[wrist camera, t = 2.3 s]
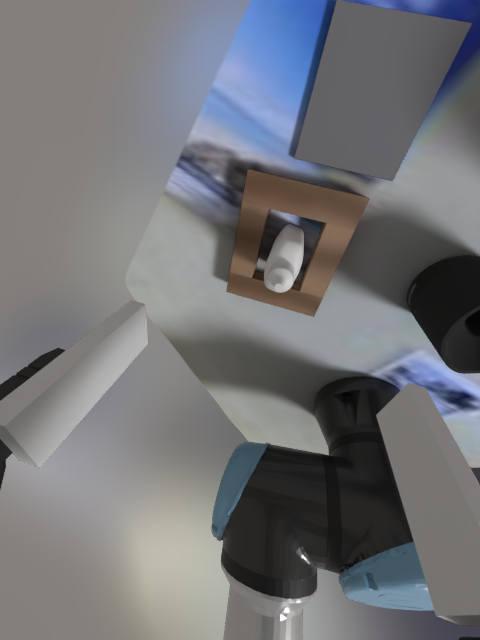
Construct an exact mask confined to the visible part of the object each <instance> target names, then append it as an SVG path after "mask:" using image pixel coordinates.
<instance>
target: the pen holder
mask: <svg viewBox="0 0 480 640" xmlns="http://www.w3.org/2000/svg"><path fill="white" fill-rule="evenodd" d="M407 303H408V307H409V309H410V311H411V312H412V314H413V316H414V317H415V319H416V321H417V322H418V324H419V325H420V327H421V328H422V330H423V331H424V333H425V334H426V336H427V337H428V339H429V340H430V342H431V343H432V345H433V346H434V348H435V349H436V351H437V352H438V354H439V355H440V357H441V358H442V360H443V361H444V363H445V364H446V365H447V366H448V367H449V368H450V369H452V370H453V371H455V372H458V373H464V374H465V373H480V257H476V256H457V257H452V258H448V259H445V260H442V261H440V262H437V263H435V264H433V265H432V266H430V267H428V268H427V269H425V270H424V271H423V272H422V273H420V274H419V275H418V276H417V277H416V279H415V280H414V281H413V283H412V284H411V286H410V288H409V290H408V294H407Z"/></svg>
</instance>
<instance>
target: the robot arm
mask: <svg viewBox="0 0 480 640" xmlns="http://www.w3.org/2000/svg"><path fill="white" fill-rule="evenodd" d="M147 345H148V336H147V321H146V308H145V304H143V303H139V302H136V301H133V300H131V301H129V302H128V303H127V304H126V305H124V306H123V307H122V308H120V309H119V310H118V311H117V312H115V313H114V314H113V315H111V316H110V317H109V318H107V319H106V320H105V321H104V322H102V323H101V324H100V325H98V326H97V327H96V328H94V329H93V330H92V331H91V332H89V333H88V334H87V335H85V336H84V337H83V338H81V339H80V340H79V341H78V342H76V343H75V344H74V345H72V346H71V347H70V348H69V349H67V350H63V349H60V348H57V349H55V350H53V351H50V352H48V353H46V354H44V355H41V356H40V357H39V358H37V359H36V360H34V361H33V362H32V363H30V364H29V365H28V367H25V368H23V369H22V370H20V371H19V372H18V373H17V374H16V375H15V376H14V375H13V376H12V377H11V378H9V379H8V380H7V381H5V382H4V383H2V384H1V385H0V488H1V484H2V480H3V476H4V472H5V468H6V459H7V458H8V457H9V456H10V455H11V454H12V453H13V454H14V455H15V456H16V457H17V458H18V459H19V460H20V461H22V462H25V463H28V464H30V465H33V466H36V467H38V468H40V466H41V465H42V464H43V463H44V462H45V461H46V460H47V458H48V457H49V456H50V455H51V454H52V453H53V452H54V451H55V449H56V448H57V447H58V446H59V445H60V444H61V443H62V441H63V440H64V439H65V438H66V437H67V436H68V434H69V433H70V432H71V431H72V430H73V429H74V427H76V425H77V424H78V423H79V422H80V421H81V420H82V419H83V418H84V416H85V415H86V414H87V413H88V412H89V411H90V410H91V408H92V407H93V406H94V405H95V404H96V403H97V401H98V400H99V399H100V398H101V397H102V396H103V395H104V393H105V392H106V391H107V390H108V389H109V388H110V387H111V386H112V385H113V383H114V382H115V381H116V380H117V379H118V377H120V375H121V374H122V373H123V372H124V371H125V370H126V369H127V367H128V366H129V365H130V364H131V363H132V362H133V360H134V359H135V358H136V357H137V356H138V355H139V354H140V353H141V352H142V350H143V349H144V348H145V347H146V346H147ZM315 415H316V419H317V421H318V423H319V426H320V428H321V431H322V433H323V435H324V438H325V440H326V442H327V445H328V448H329V455H324V454H319V453H314V452H308V451H303V450H297V449H292V448H286V447H281V446H275V445H270V444H269V443H266V444H262V443H254V442H244V443H241V444H240V445H239V446H238V447H237V448H236V449H235V450H234V452H233V454H232V456H231V457H230V459H229V462H228V464H227V466H226V469H225V471H224V474H223V477H222V480H221V483H220V486H219V490H218V493H217V497H216V501H215V506H214V511H213V516H212V521H213V523H212V534H213V536H214V537H216V538H217V540H219V541H221V540H223V549H222V555H221V567H222V569H223V571H224V573H225V575H226V577H227V579H228V581H229V583H230V590H229V598H228V607H227V614H226V622H225V630H224V639H223V640H303V607H304V606H305V605H306V604H307V603H308V602H309V601H310V600H311V599H312V598H313V597H314V596H315V594H316V592H317V569H318V568H320V569H325V570H329V571H332V572H335V573H338V574H339V575H340V576H339V583H340V584H341V587H342V590H343V592H344V594H345V595H346V596H347V597H348V598H350V599H352V600H357V601H359V602H362V603H364V604H368V605H373V606H378V607H385V608H393V609H404V610H434V611H435V614H436V616H438V617H440V618H443V619H446V620H448V621H451V622H454V623H456V624H459V625H462V626H480V484H479V483H478V481H477V479H476V478H475V476H474V474H473V472H472V470H471V468H470V467H469V465H468V463H467V461H466V459H465V458H464V456H463V454H462V452H461V451H460V449H459V447H458V445H457V443H456V442H455V440H454V438H453V436H452V435H451V433H450V431H449V429H448V427H447V426H446V424H445V422H444V420H443V418H442V417H441V415H440V413H439V411H438V410H437V408H436V406H435V404H434V402H433V401H432V399H431V397H430V395H429V393H428V392H427V390H426V388H424V387H421V386H417V385H414V384H410V383H408V384H407V385H406V386H405V387H404V388H403V389H402V390H401V391H400V390H399V389H398V388H397V387H395V386H393V385H392V384H389V383H387V382H385V381H382V380H378V379H373V378H365V377H354V378H346V379H341V380H338V381H335V382H332V383H330V384H328V385H327V386H325V387H324V388H323V389H321V390H320V392H319V393H318V394H317V396H316V398H315ZM459 640H480V637H460V638H459Z"/></svg>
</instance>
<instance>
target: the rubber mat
mask: <svg viewBox="0 0 480 640" xmlns="http://www.w3.org/2000/svg"><path fill="white" fill-rule="evenodd" d="M471 25H472V23H469V22H463V21H457V20H451V19H446V18H440V17H434V16H428V15H422V14H417V13H411V12H405V11H399V10H393V9H388V8H382V7H376V6H370V5H364V4H359V3H353V2H347V1H341V0H337V1H336V5H335V9H334V12H333V16H332V20H331V24H330V27H329V31H328V35H327V38H326V42H325V46H324V50H323V53H322V57H321V61H320V64H319V68H318V72H317V76H316V79H315V83H314V87H313V90H312V94H311V98H310V102H309V105H308V109H307V113H306V116H305V120H304V124H303V128H302V131H301V135H300V139H299V142H298V146H297V150H296V153H295V157H294V158H295V159H299V160H304V161H308V162H312V163H317V164H321V165H325V166H330V167H334V168H338V169H343V170H347V171H351V172H356V173H360V174H364V175H369V176H373V177H377V178H382V179H386V180H390V181H393V179H394V177H395V175H396V173H397V171H398V169H399V167H400V165H401V163H402V161H403V159H404V157H405V155H406V153H407V151H408V150H409V148H410V146H411V144H412V142H413V140H414V138H415V136H416V134H417V132H418V130H419V128H420V126H421V124H422V122H423V120H424V118H425V116H426V114H427V112H428V110H429V108H430V106H431V104H432V102H433V100H434V98H435V96H436V94H437V92H438V90H439V88H440V86H441V84H442V82H443V80H444V78H445V76H446V74H447V72H448V70H449V68H450V66H451V64H452V62H453V60H454V58H455V56H456V54H457V52H458V51H459V49H460V47H461V45H462V43H463V41H464V39H465V37H466V35H467V33H468V31H469V29H470V27H471Z"/></svg>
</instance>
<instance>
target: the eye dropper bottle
mask: <svg viewBox="0 0 480 640" xmlns="http://www.w3.org/2000/svg"><path fill="white" fill-rule="evenodd" d="M303 253H304V232H303V230H302V229H301V228H299V227H297V226H294V225H291V224H288V225H286V226H285V227H284V228H283V229H282V230H281V231H280V233H279V234H278V236H277V238H276V239H275V242H274V244H273V247H272V249H271V252H270V254H269V257H268V260H267V262H266V266H265V270H264V284H265V286H266V287H267V288H268V289H270V290H273V291H275V292H279V293H281V292H285V291H287V290H289V289H290V288H291V287H292V285H293V282H294V280H295V279H296V277H297V275H298V273H299V271H300V268H301V265H302V261H303Z"/></svg>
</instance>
